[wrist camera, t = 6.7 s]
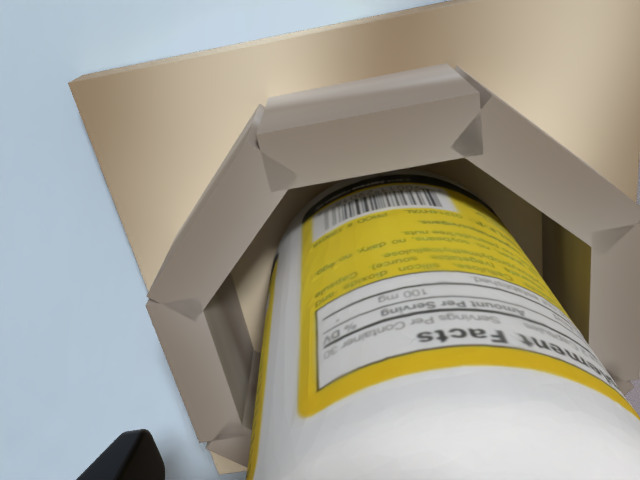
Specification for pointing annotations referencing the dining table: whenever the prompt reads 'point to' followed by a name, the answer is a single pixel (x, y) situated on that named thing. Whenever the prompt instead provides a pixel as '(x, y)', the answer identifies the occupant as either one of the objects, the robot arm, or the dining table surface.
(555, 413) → the supplement bottle
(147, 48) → the dining table surface
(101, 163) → the octagonal ring stand
